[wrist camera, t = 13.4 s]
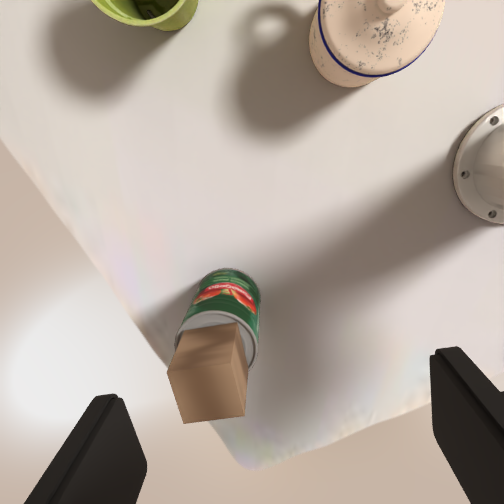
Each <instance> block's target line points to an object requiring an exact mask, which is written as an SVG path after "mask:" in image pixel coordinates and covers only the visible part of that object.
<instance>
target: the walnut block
mask: <svg viewBox="0 0 504 504" xmlns="http://www.w3.org/2000/svg"><path fill="white" fill-rule="evenodd" d="M167 375H168V378H169V381H170V384H171V387H172V390H173V393H174V396H175V399H176V402H177V405H178V408H179V411H180V414H181V417H182V420H183V423H184V424H186V423H194V422H202V421H210V420H217V419H225V418H233V417H241V416H245V403H246V391H247V379H248V364H247V360H246V356H245V352H244V348H243V343H242V339H241V335H240V331H239V327H238V323H237V322H235V323H228V324H222V325H216V326H209V327H203V328H197V329H190V330H185V331H184V333H183V335H182V338H181V340H180V342H179V345H178V347H177V349H176V352H175V354H174V356H173V359H172V361H171V364H170V366H169V368H168V371H167Z"/></svg>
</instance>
